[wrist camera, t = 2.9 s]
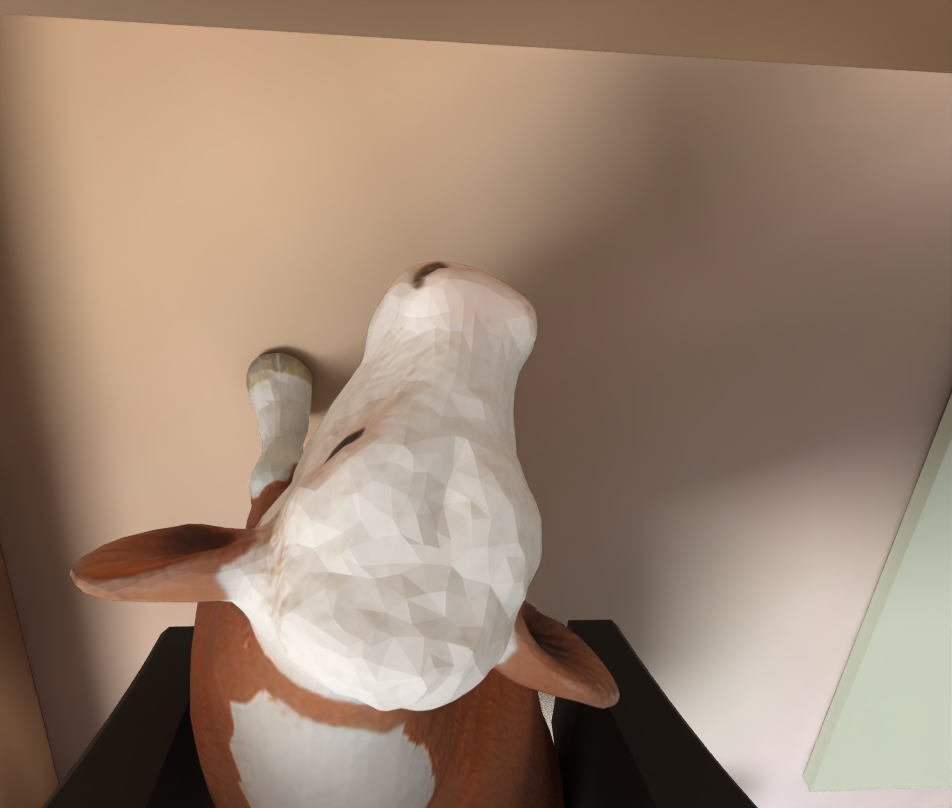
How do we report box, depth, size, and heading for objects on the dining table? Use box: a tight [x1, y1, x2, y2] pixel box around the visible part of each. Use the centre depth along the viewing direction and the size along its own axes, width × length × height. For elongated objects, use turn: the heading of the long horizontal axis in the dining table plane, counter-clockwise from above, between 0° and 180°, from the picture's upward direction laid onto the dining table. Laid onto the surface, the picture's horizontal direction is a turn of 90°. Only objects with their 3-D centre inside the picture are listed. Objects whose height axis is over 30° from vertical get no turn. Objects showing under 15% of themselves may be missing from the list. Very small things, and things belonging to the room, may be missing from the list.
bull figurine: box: [70, 261, 620, 808], centre depth 12 cm, size 4×13×8 cm, turn 2°
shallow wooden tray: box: [0, 0, 952, 808], centre depth 14 cm, size 18×14×2 cm
